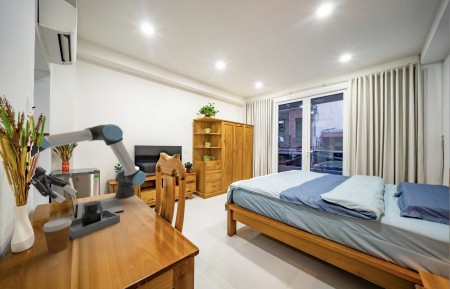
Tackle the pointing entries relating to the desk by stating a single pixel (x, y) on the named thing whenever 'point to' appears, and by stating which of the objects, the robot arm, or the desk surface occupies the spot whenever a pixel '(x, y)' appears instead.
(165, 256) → the desk surface
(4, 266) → the desk surface
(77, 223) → the charcoal bin
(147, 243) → the desk surface
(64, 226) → the disposable coffee cup
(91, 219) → the ink bottle
